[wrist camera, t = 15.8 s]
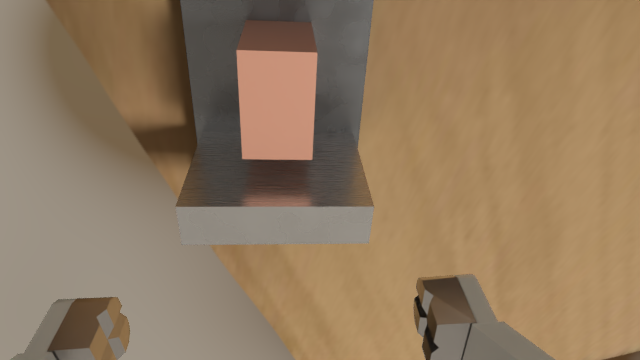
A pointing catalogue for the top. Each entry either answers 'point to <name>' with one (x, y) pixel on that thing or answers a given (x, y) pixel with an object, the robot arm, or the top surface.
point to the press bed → (331, 56)
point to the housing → (277, 89)
